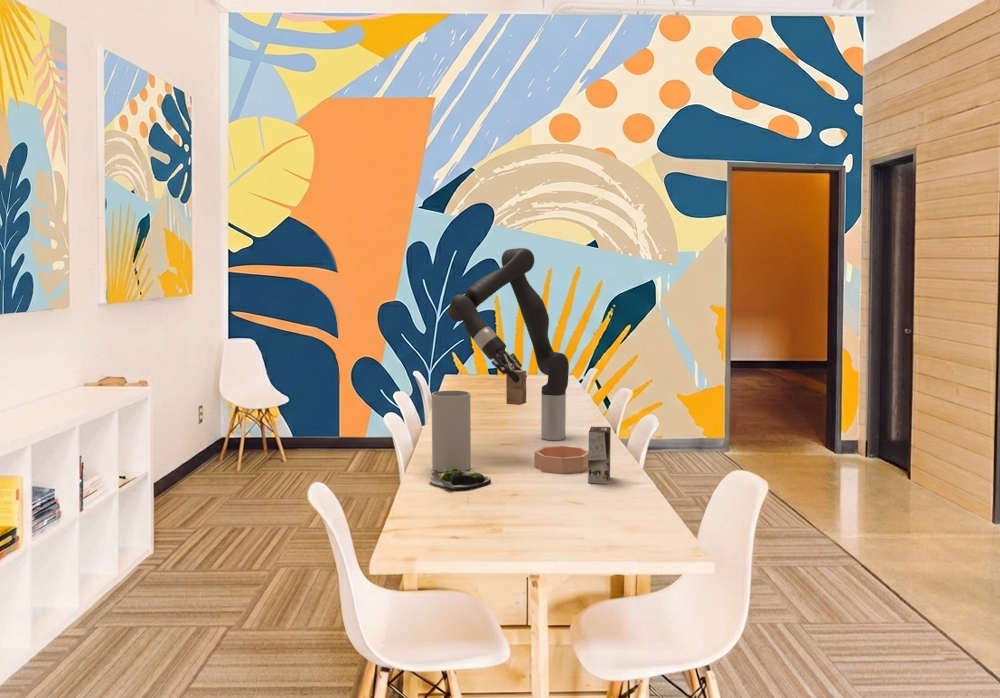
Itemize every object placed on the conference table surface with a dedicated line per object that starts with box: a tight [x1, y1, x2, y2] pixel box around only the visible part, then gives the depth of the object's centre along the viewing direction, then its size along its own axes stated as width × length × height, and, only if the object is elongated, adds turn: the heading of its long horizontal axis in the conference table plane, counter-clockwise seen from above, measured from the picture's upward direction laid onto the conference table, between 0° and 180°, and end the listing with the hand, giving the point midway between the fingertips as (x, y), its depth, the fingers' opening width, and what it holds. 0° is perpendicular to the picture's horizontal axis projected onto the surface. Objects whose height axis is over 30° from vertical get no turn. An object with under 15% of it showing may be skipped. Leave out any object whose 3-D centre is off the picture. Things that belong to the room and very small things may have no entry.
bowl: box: [533, 445, 589, 475], centre depth 273 cm, size 17×17×5 cm
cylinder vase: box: [431, 389, 472, 474], centre depth 269 cm, size 12×12×25 cm
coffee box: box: [587, 426, 612, 485], centre depth 256 cm, size 9×6×16 cm
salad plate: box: [429, 468, 492, 492], centre depth 254 cm, size 19×18×5 cm
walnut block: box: [505, 369, 527, 406], centre depth 279 cm, size 5×5×11 cm
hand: (521, 379), depth 278 cm, fingers closed on walnut block, 5 cm apart
